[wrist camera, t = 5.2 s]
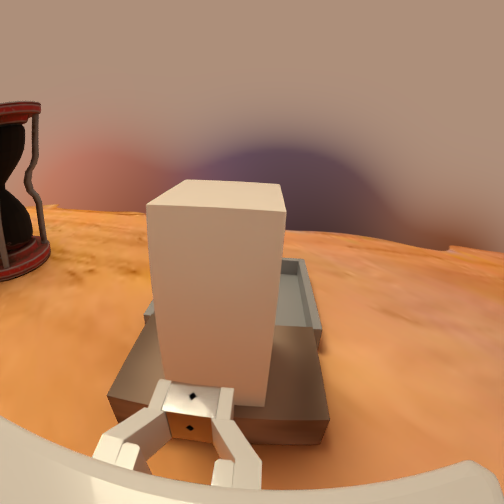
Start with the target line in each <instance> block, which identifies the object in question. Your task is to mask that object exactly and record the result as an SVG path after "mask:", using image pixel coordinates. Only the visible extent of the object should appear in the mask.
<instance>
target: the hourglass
mask: <svg viewBox="0 0 504 504" xmlns="http://www.w3.org/2000/svg"><path fill="white" fill-rule="evenodd" d="M40 105H41V104H40V103H39V102H35V101H15V102H5V103H0V281H3V280H8V279H12V278H14V277H17V276H20V275H23V274H25V273H27V272H29V271H31V270H33V269H35V268H37V267H38V266H39V265H41V264H42V263H44V262H45V261H46V259H47V258H48V257H49V256H50V250H51V249H50V244H49V241H48V240H47V237H46V230H45V223H44V215H43V207H42V201H41V198H40V196H39V194H38V193H36V191H35V190H34V189H33V185H32V182H31V178H32V171H33V169H34V168H35V166H36V164H37V161H38V157H39V152H38V151H39V149H38V119H39V114H40V113H41V106H40ZM30 117H32V159H31V163H30V165H29V167H28V168H27V170H26V171H25V177H24V185H25V188H26V191H27V192H28V193H29V194H30V195H31V196H32V197H33V199H34V201H35V203H36V210H37V218H38V225H39V231H40V236H33V235H32V234H33V229H32V223H31V219H30V215H29V213H28V212H27V210H26V208H25V207H24V206H23V205H22V204H21V203H20V201H19V200H18V199H16V198H15V197H14V196H13V195H12V194H11V193H10V192H8V191H7V190H6V189H5V183H6V181H7V180H8V178H9V176H10V175H11V173H12V172H13V170H14V169H15V167H16V165H17V164H18V162H19V160H20V158H21V156H22V153H23V150H24V144H25V129H24V127H23V126H22V124H25V123H26V122H27V121H28V118H30Z"/></svg>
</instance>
